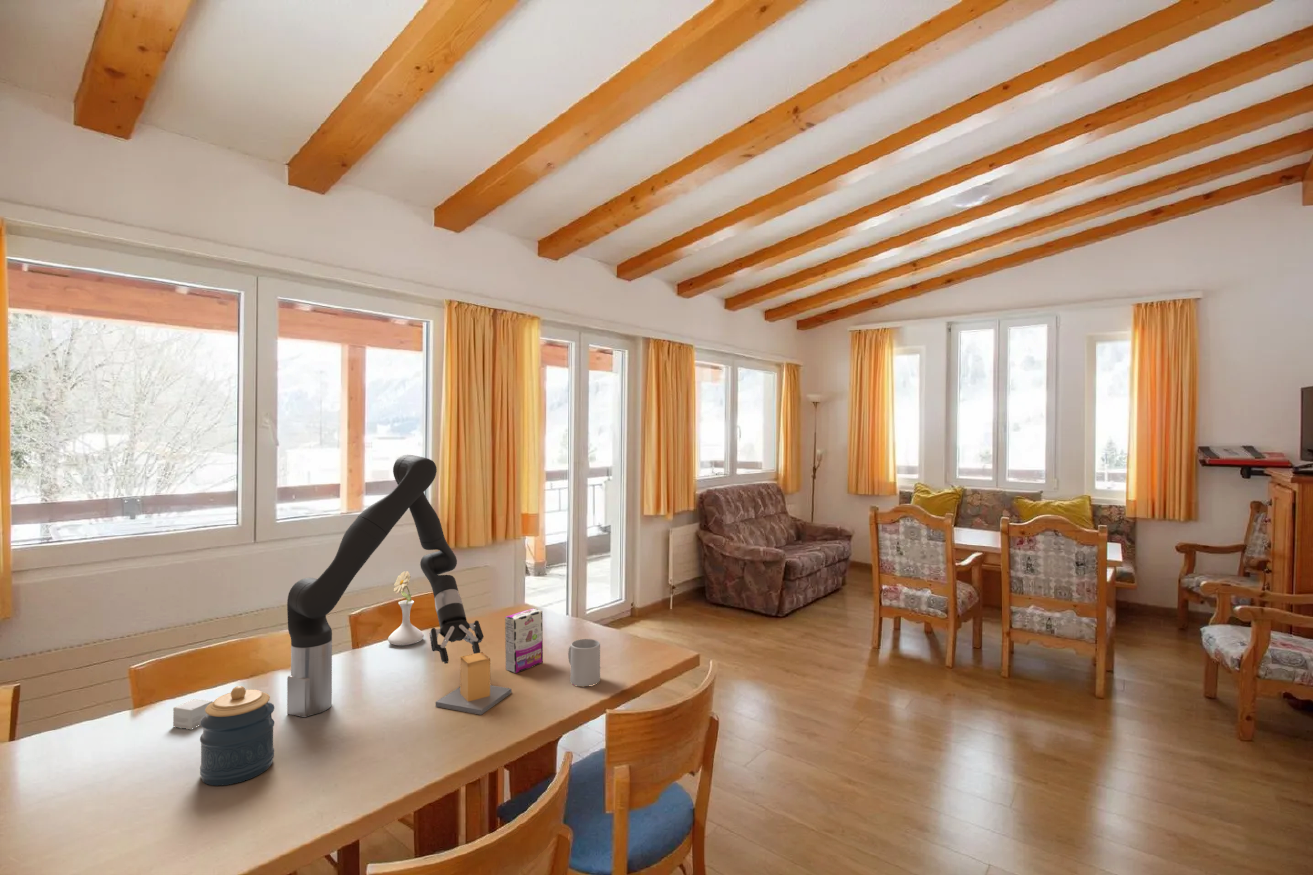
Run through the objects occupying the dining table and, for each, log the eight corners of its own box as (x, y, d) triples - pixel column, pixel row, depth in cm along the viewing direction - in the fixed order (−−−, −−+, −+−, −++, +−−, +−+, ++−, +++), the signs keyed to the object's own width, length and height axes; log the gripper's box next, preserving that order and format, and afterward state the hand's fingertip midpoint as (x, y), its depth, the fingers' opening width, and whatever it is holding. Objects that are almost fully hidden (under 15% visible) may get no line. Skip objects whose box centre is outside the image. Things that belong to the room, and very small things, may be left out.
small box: (213, 720, 152) (213, 700, 152) (190, 730, 147) (190, 710, 147) (195, 717, 154) (195, 697, 154) (172, 727, 148) (172, 707, 148)
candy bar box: (532, 659, 194) (532, 607, 194) (543, 662, 191) (543, 610, 191) (504, 669, 186) (504, 615, 185) (514, 674, 183) (515, 618, 182)
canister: (261, 747, 139) (261, 669, 139) (283, 767, 131) (284, 685, 131) (191, 771, 129) (191, 687, 129) (210, 795, 121) (211, 705, 121)
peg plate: (481, 714, 156) (481, 690, 156) (435, 706, 161) (435, 682, 161) (511, 692, 169) (511, 670, 169) (468, 685, 174) (468, 663, 174)
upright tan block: (489, 695, 164) (490, 658, 164) (467, 701, 161) (468, 663, 161) (481, 688, 169) (482, 652, 169) (460, 693, 166) (460, 656, 166)
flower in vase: (387, 639, 212) (387, 567, 211) (422, 635, 216) (423, 564, 216) (388, 652, 200) (388, 575, 199) (425, 647, 204) (426, 572, 204)
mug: (606, 681, 177) (606, 643, 177) (582, 690, 172) (582, 650, 171) (580, 669, 186) (581, 633, 186) (557, 677, 180) (557, 640, 180)
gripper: (427, 605, 176) (439, 657, 167) (476, 598, 184) (490, 647, 175) (422, 619, 181) (433, 671, 171) (470, 611, 189) (483, 660, 180)
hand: (462, 659), depth 173 cm, fingers open, 8 cm apart
